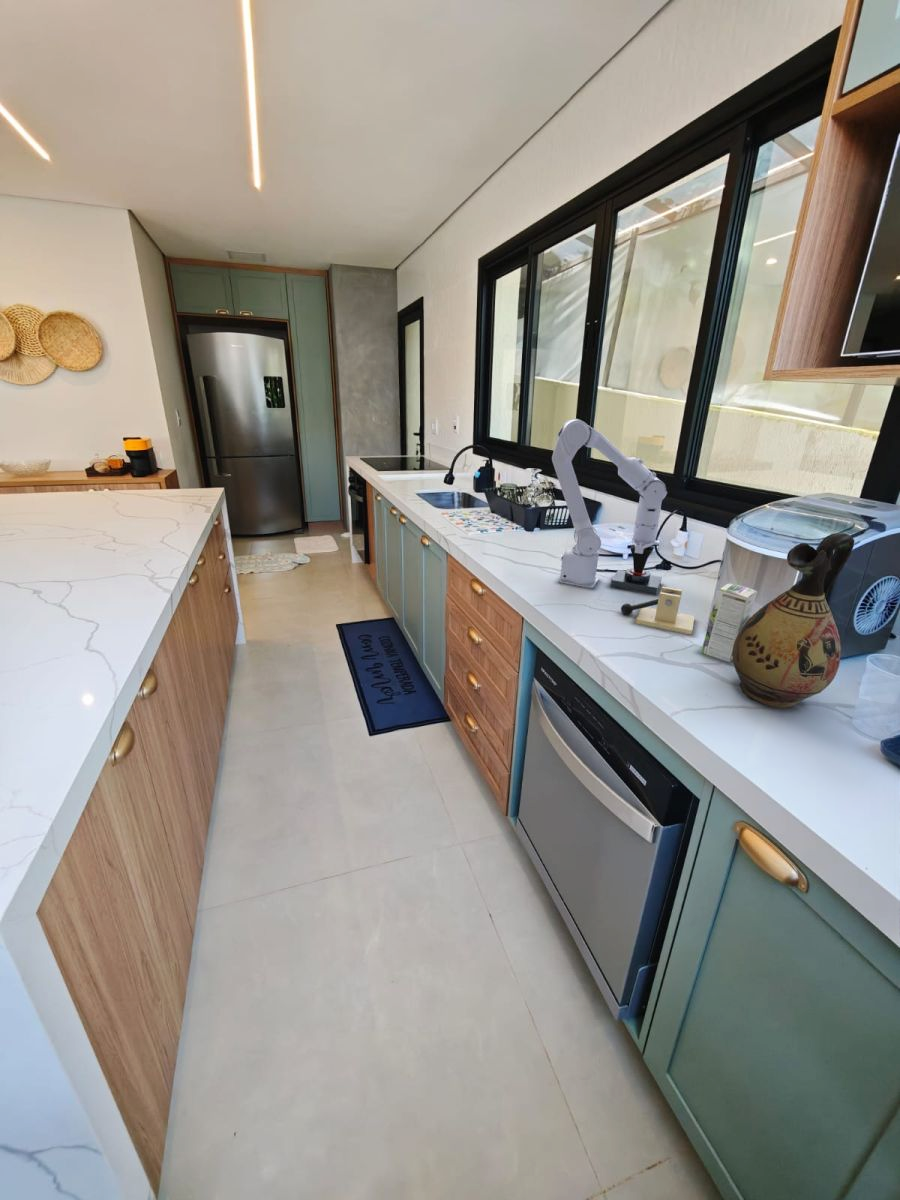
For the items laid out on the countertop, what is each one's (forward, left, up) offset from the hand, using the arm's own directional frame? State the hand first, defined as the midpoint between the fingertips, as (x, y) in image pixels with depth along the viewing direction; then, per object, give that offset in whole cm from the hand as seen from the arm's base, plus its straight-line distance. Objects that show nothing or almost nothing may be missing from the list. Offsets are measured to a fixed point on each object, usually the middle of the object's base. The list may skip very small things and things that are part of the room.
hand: (638, 571), depth 139 cm
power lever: (+6, -22, -2) cm, 23 cm away
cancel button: (0, 0, -2) cm, 2 cm away
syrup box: (+22, -33, -4) cm, 40 cm away
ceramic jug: (+31, -45, -4) cm, 55 cm away
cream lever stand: (+10, -22, -4) cm, 25 cm away
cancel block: (0, 0, -4) cm, 4 cm away
